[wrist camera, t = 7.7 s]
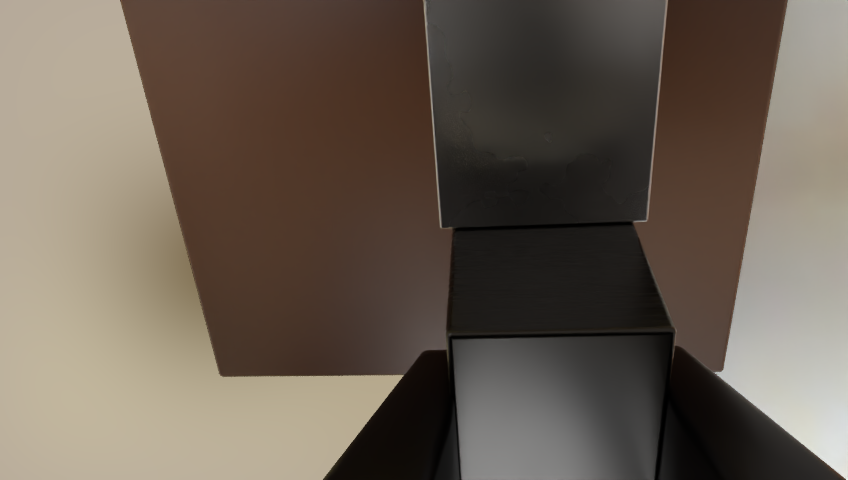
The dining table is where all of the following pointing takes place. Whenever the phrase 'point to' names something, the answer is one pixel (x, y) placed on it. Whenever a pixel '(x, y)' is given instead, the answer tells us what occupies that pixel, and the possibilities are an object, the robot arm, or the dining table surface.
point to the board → (407, 173)
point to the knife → (550, 234)
